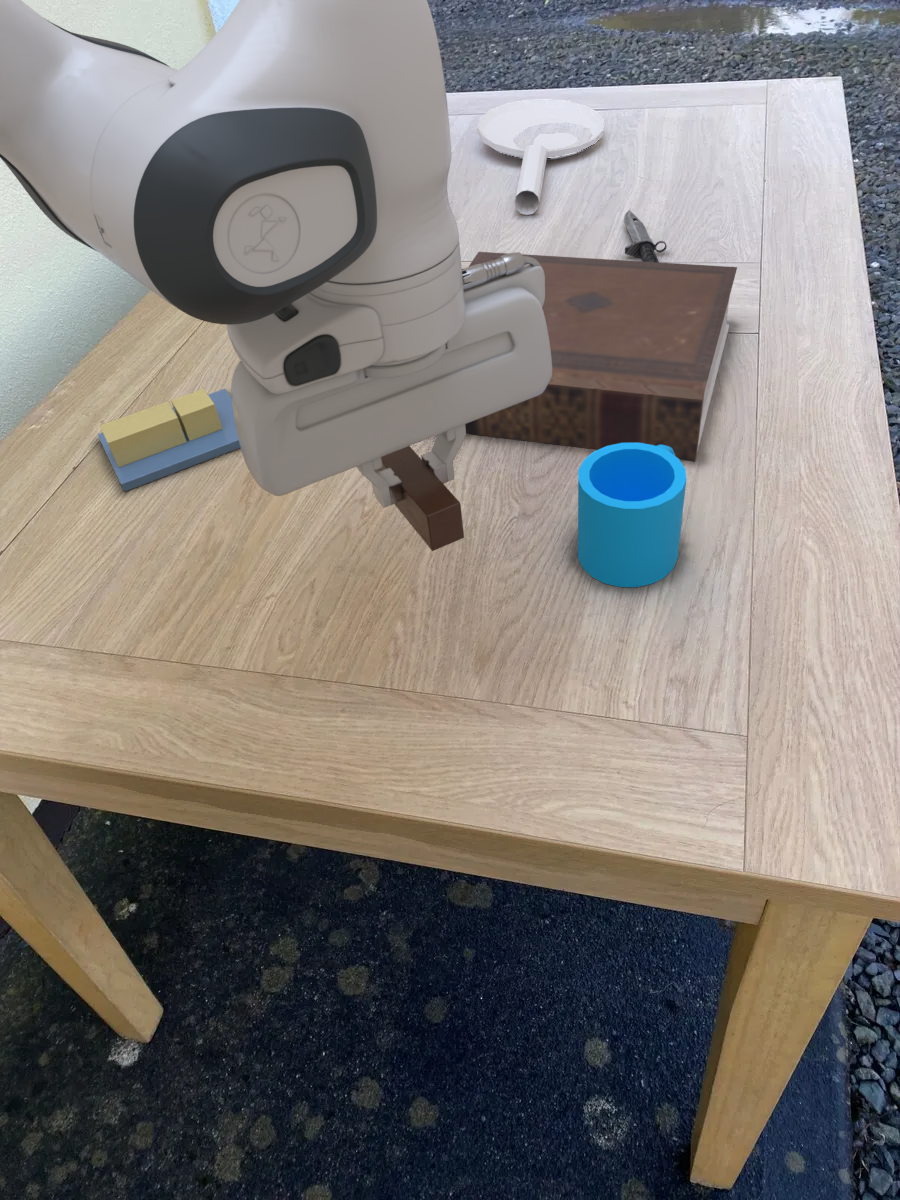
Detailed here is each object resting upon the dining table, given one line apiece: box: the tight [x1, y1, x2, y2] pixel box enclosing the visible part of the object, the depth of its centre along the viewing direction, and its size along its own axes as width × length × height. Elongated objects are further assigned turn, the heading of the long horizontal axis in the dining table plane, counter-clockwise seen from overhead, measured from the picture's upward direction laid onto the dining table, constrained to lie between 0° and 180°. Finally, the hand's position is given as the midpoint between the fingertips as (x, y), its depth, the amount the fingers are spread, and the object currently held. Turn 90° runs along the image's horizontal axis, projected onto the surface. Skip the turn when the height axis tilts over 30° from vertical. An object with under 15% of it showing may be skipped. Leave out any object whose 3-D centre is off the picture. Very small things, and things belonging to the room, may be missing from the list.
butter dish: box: [97, 388, 241, 492], centre depth 92 cm, size 14×10×4 cm
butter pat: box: [170, 388, 222, 441], centre depth 92 cm, size 4×4×3 cm
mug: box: [577, 443, 687, 588], centre depth 73 cm, size 12×8×8 cm
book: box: [465, 251, 738, 462], centre depth 92 cm, size 24×28×7 cm
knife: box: [623, 209, 668, 263], centre depth 111 cm, size 19×2×5 cm
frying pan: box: [476, 98, 605, 216], centre depth 133 cm, size 35×19×5 cm, turn 172°
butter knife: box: [377, 445, 465, 552], centre depth 65 cm, size 2×20×3 cm, turn 28°
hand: (414, 489), depth 61 cm, fingers closed on butter knife, 2 cm apart
